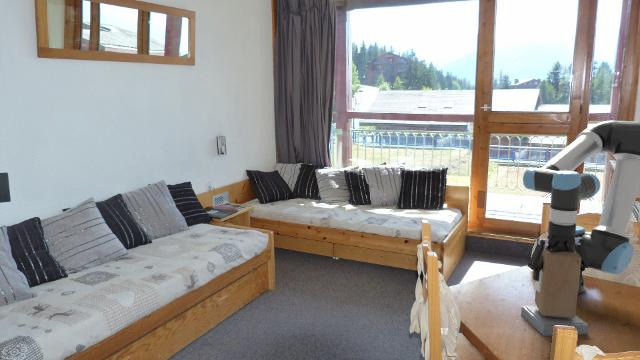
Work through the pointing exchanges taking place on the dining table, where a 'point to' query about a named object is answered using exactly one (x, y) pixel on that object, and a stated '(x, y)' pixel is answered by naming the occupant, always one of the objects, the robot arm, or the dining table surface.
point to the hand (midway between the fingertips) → (556, 289)
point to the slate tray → (551, 321)
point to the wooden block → (559, 284)
